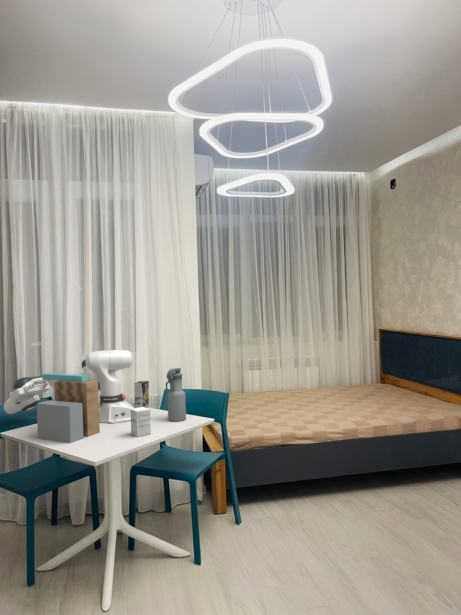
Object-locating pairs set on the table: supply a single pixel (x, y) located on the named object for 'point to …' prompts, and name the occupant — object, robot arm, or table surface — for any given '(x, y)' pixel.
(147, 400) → the coffee box
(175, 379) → the water bottle
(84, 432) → the walnut stand
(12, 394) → the robot arm
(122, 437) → the table surface
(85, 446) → the table surface
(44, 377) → the teal batten
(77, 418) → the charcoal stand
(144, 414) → the supplement box
